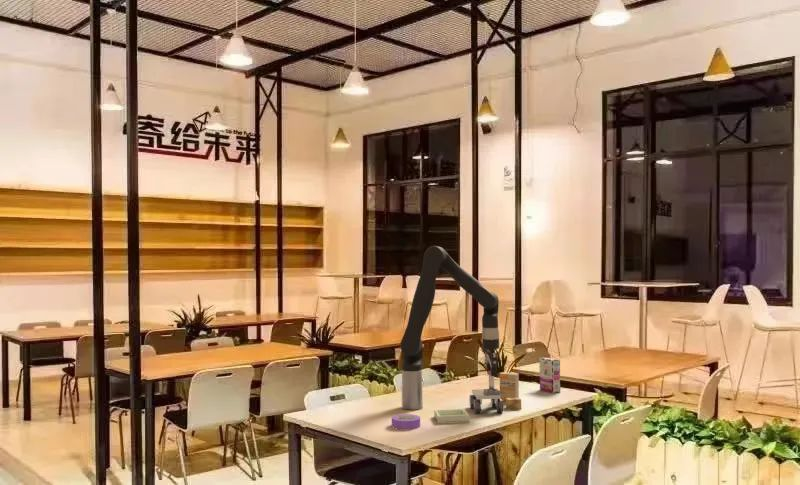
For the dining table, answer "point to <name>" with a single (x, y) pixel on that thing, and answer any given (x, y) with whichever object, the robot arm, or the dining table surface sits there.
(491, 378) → the pin
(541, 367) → the candy bar box
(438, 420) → the tray
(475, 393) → the trolley
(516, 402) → the block
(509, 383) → the supplement box
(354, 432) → the dining table surface
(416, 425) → the masking tape
